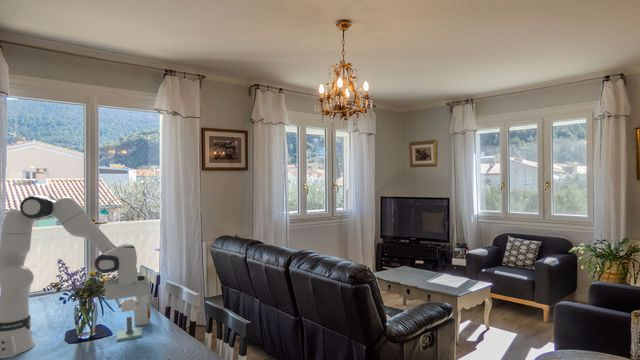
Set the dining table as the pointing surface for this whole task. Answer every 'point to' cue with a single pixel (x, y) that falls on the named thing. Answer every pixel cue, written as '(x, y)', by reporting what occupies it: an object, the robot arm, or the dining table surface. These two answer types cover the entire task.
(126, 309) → the beige square open box
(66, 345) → the dining table surface
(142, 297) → the milk bottle
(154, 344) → the dining table surface
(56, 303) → the dining table surface
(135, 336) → the post stand
